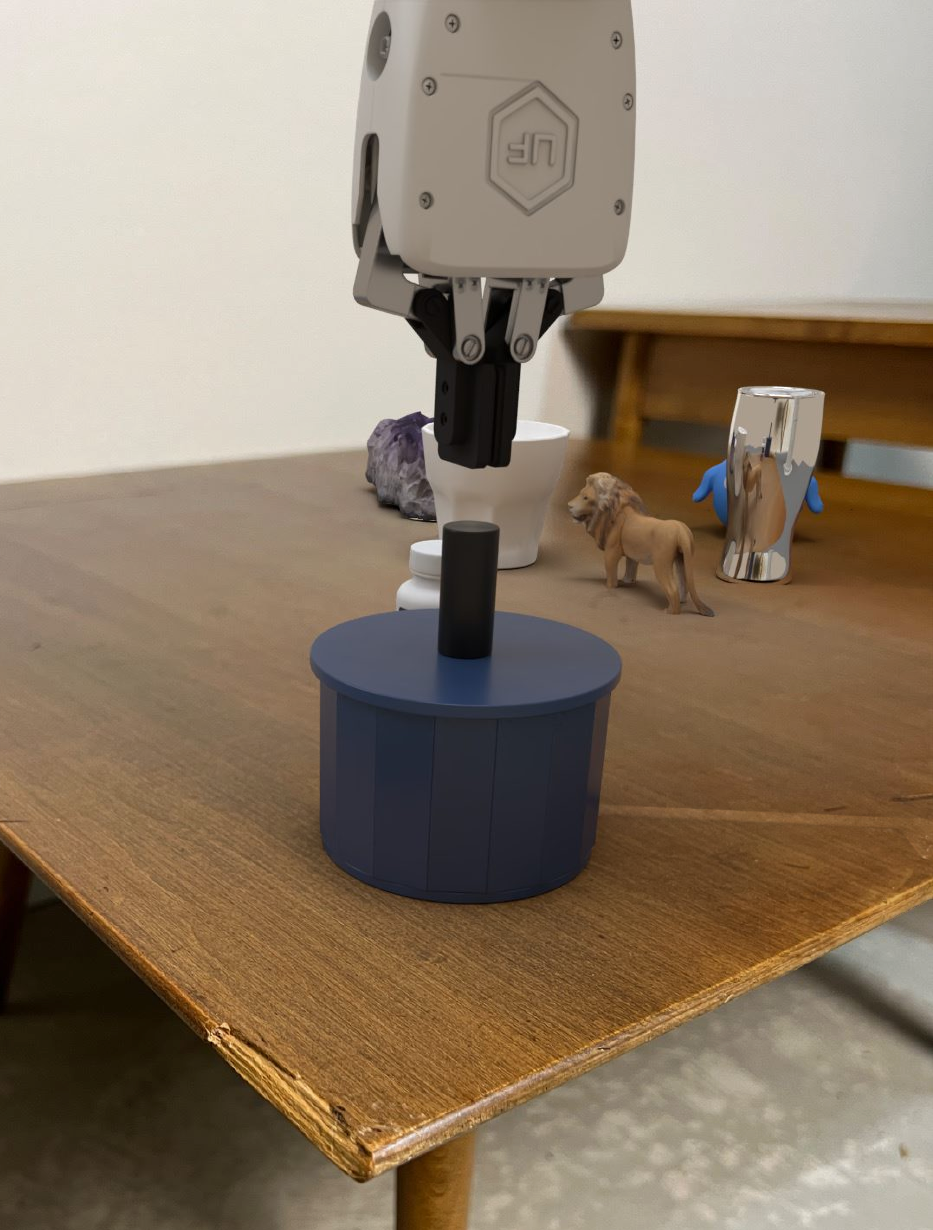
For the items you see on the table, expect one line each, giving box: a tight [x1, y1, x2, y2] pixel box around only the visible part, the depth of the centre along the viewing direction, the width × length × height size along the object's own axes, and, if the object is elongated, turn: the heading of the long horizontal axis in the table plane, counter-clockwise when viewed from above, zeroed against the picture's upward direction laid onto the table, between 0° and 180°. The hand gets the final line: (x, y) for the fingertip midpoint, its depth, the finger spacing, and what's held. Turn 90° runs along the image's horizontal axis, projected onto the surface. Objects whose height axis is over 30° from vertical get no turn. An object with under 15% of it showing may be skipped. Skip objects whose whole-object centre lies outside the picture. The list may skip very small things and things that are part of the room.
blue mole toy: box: [692, 459, 824, 527], centre depth 114 cm, size 12×12×8 cm
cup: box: [422, 419, 571, 570], centre depth 105 cm, size 12×12×11 cm
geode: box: [364, 410, 437, 521], centre depth 127 cm, size 20×12×10 cm, turn 7°
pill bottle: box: [395, 539, 442, 611], centre depth 71 cm, size 5×5×10 cm
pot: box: [319, 680, 612, 904], centre depth 55 cm, size 13×13×8 cm
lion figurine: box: [567, 472, 715, 617], centre depth 93 cm, size 15×5×9 cm, turn 33°
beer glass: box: [715, 385, 826, 586], centre depth 99 cm, size 7×7×15 cm
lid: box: [309, 520, 623, 719], centre depth 52 cm, size 14×14×7 cm
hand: (472, 461), depth 50 cm, fingers closed
